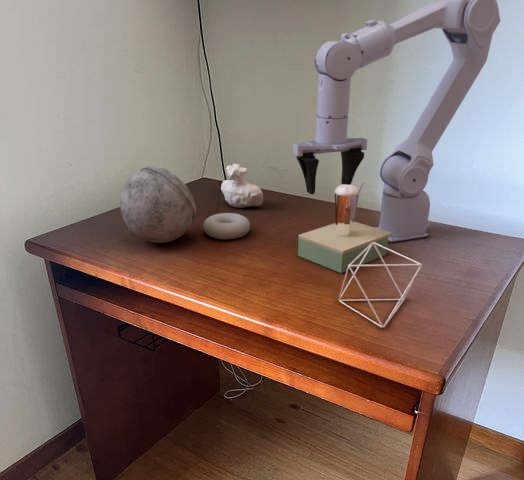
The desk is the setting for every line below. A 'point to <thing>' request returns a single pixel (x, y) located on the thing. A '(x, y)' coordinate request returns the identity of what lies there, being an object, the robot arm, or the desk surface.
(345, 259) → the lunchbox
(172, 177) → the decorative orb
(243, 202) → the white lumpy piece
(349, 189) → the milkshake
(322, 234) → the lunchbox lid
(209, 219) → the donut
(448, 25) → the robot arm
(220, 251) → the desk surface
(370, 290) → the desk surface
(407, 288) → the geometric polyhedron
